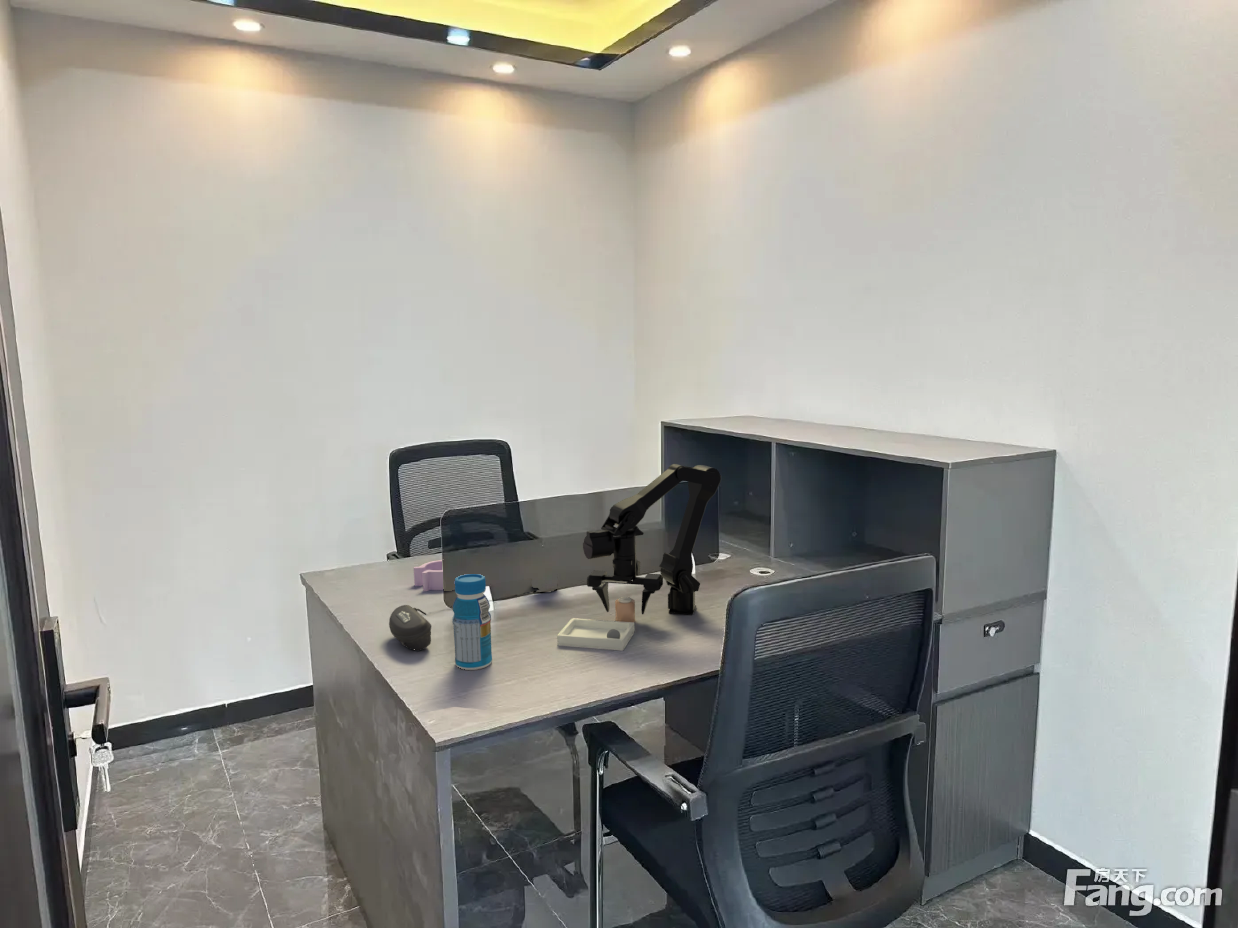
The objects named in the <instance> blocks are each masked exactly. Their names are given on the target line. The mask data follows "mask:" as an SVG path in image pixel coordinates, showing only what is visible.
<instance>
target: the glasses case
mask: <svg viewBox="0 0 1238 928" xmlns="http://www.w3.org/2000/svg"><path fill="white" fill-rule="evenodd" d="M419 612H420V613H419ZM422 614H423V615H425V616H427V613H426V612H424V611H423V610H422V609H421V608H420V609H419V608H417V607H413V606H411V605H408V604H403V605H399V606H398V607H396V608H395V609H394V610H393V611H392V612H391V614H390V617H389V622H388V627H389V630H390V633H391V634H392V636H393V637H394V638H395V639H396V640H398V642H400V643H401V645H402V646H404V647H406V646H407V647H408V648H407V647H406V648H407V649H409V648H411V649H415V650H414V651H422V650H424V649H427V647H429V646H430V645H431V642H432V637H431V635H432V624H431V622H429V621H428V620H427V619H426V618H425V617H424V616H423V615H422ZM411 649H410V650H411Z"/></svg>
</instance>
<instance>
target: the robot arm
mask: <svg viewBox="0 0 1238 928" xmlns="http://www.w3.org/2000/svg"><path fill="white" fill-rule="evenodd" d="M682 482H687V483H688V484H687V486H688V487H687V489H688V495H689V496H688V499H687V505H686V507H685V510H684V514H683V517H682V521H681V523H680V525H679V526H680V527H679V530H678V534H677V537H676V539H675V543H674V547H673V548H672V549H671V551H670V552H669V553H667V552H663V554H662V561H661V562H660V564H659V566H658V567H660V571H659V572H660V573H648V572H647V573H646V575H645V576H644V577H643V576H642V577H641V576H638V575H639V574H641V561H640V560H638V559H637V548H636V547H637V546H636V545H637V544H636V541H637V539H636V538H637V537H639V536H643V535H644V532H643V531H642V530H641V529H639V527H638V526H637V525H639V523H640V522H641V521H642V520H643V519H644V517H645V515H646V513H647V511H648V510H649V509H650V508H651V507H652V506H653V505H654V504H655V503H657V502H658V501H659V500H660V499H662V498H663V497H664V496H665V495H667V494H668V493H669V492H670V491H672V490H673V489H674V488H675V487H677V486H678V485H679V484H681V483H682ZM721 482H722V475H721V474H720V471H719V470H718V469H717V468H715V467H712V466H711V467H710V466H709V465H708V466H707V465H703V464H697V465H695V466H694V467H693V466H692V467H691V466H687V465H686V466H685V465H682V464H681V465H680V464H677V463H673V464H670V466H668V468H667V469H666V470H665V471H663V472H662V473H661V474H660V475H659V476H657V477H656V478H655V479H653V480H652V481H651V482H650V483H649V484H647V485H646V486H645V487H644V488H642V489H641V490H640V491H639V492H637V493H636V494H634V495H632V496H629V497H626V498H623V499H622V500H620V501H618V502H616V503H615V504H613V505H612V506H611V507H610V509H609V514H608V516H607V517H606V519H605V521H604V523H603V524H602V525H601V527H600V529H599V530H587V531H586V536H585V537H584V539H583V542H582V550H583V553H584V555H585V558H587V560H591V559H599V558H605V557H610V556H613V559H612V567H613V575H611V574H609V575H608V572H607V571H606V570H593V571H592V572H591V573H589V574H588V576H587V577H586V586H587V587H588V588H591V590H592V591H595V593H596V594H597V595H598V597H599V599H600V601H601V602H602V604H603V607H604V609H605V611H606V612H607V613H609V612H610V598H609V584H619V585H635V586H637V585H638V586H643V590H642V591H641V592H642V593H641V595H642V596H641V615H645V612H646V609H647V606H648V602H649V599H650V597H651V594H655V593H656V592H658V591H660V589H661V588H662V587H663V585H664V581H665V583H666V585H667V586H669V587H670V588H669V592H668V593H667V609H668V614H673V615H674V614H676V615H691V616H692V615H694V613H695V611H696V610H697V605H696V592H698V591H699V589H700V586H701V583H700V582H699V580H698V579H696V578H695V577H694V576H693V568H694V563H693V550H694V547H695V544H696V541H697V537H698V533H699V531H700V527H701V525H702V520H703V517H704V514H705V511H706V509H707V508H706V507H707V505H708V502H709V501H710V500H711V498H713V496H714V495H716V492H717V491H718V489H719V486H720V483H721ZM616 526H617V527H616Z"/></svg>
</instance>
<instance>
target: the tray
mask: <svg viewBox="0 0 1238 928" xmlns="http://www.w3.org/2000/svg"><path fill="white" fill-rule="evenodd" d="M611 629H616V630H618V631H619V633H620V639H615V638H607V633H608V631H609V630H611ZM634 634H635V623H634V622H621V621H616V620H605V619H604V620H603V619H589V618H577V617H571V618H570V620H569V621H568V622H567V623H566V625H564V627H563V628H562V629H561V630H560V631H559V632H558V634H557V635H556V641H557V642H556V644H557V646H558V647H559V646H560V647H571V648H583V649H584V648H586V649H595V650H596V649H598V650H607V651H608V650H609V651H624V650H625V648H627V647H626V646H627V645H628V644H629V642H630V640H631V639H632V636H633V635H634Z"/></svg>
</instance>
